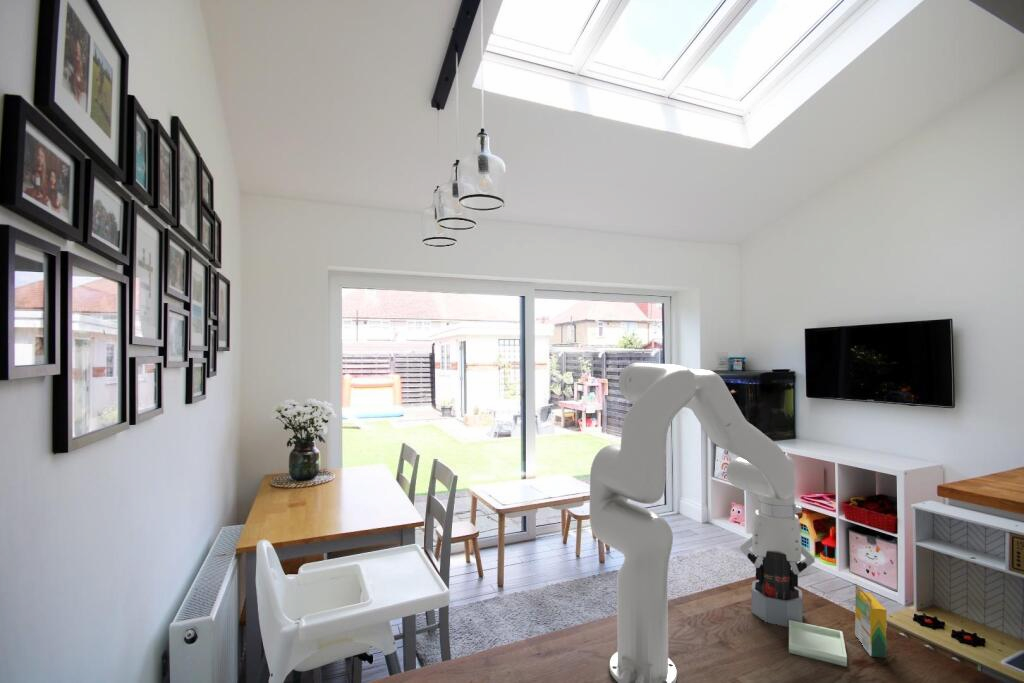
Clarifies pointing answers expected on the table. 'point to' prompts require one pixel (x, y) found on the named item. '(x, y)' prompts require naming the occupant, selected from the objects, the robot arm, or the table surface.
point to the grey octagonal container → (777, 606)
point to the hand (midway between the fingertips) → (776, 585)
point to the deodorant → (776, 576)
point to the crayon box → (870, 623)
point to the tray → (817, 643)
